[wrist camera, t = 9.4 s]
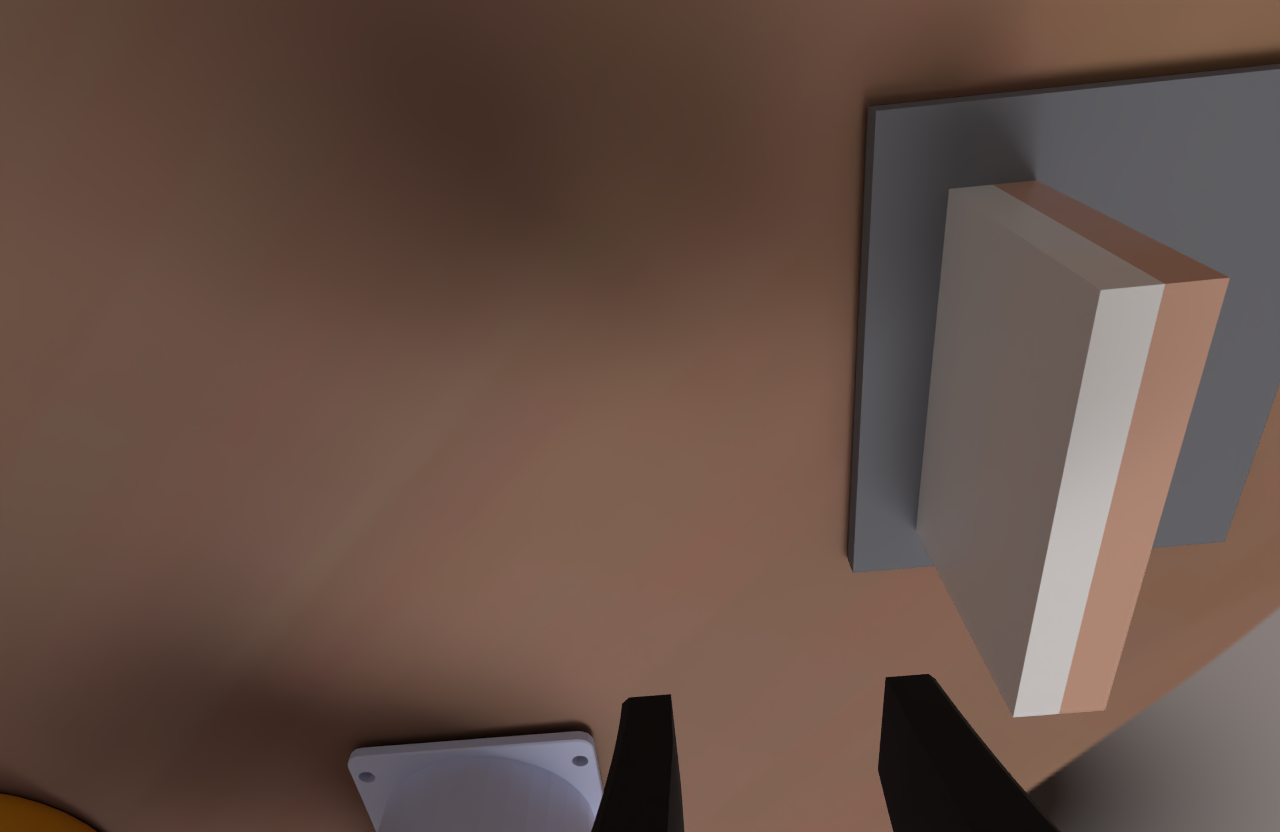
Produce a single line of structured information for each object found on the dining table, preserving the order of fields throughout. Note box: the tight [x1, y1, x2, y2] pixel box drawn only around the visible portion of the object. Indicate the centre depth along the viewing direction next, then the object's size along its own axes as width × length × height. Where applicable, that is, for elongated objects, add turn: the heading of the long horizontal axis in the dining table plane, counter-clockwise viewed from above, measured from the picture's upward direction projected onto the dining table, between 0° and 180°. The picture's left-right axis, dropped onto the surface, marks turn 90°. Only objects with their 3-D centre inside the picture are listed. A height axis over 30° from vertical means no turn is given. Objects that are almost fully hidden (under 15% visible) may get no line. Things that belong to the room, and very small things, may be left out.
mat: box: [848, 64, 1280, 573], centre depth 19 cm, size 12×10×1 cm
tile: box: [916, 180, 1230, 717], centre depth 16 cm, size 9×2×6 cm, turn 5°
